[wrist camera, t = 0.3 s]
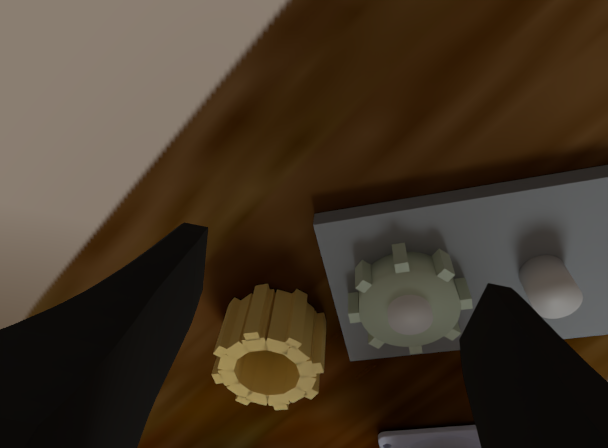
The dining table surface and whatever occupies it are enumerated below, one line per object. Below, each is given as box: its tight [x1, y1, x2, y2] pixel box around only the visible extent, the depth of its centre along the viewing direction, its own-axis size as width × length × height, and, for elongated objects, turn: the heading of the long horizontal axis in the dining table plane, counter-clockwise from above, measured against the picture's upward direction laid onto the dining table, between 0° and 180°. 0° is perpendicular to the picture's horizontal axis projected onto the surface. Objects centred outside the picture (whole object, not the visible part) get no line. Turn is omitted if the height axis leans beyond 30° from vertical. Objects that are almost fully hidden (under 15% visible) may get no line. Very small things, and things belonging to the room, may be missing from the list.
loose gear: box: [212, 284, 327, 410], centre depth 25 cm, size 6×6×4 cm
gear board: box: [313, 165, 608, 361], centre depth 22 cm, size 9×20×3 cm, turn 104°
